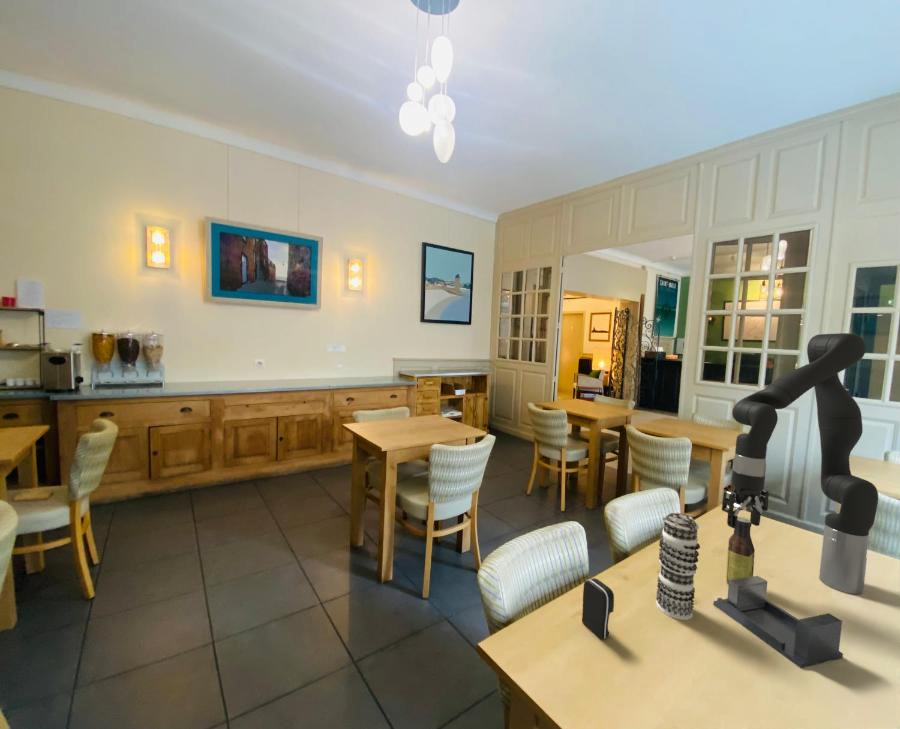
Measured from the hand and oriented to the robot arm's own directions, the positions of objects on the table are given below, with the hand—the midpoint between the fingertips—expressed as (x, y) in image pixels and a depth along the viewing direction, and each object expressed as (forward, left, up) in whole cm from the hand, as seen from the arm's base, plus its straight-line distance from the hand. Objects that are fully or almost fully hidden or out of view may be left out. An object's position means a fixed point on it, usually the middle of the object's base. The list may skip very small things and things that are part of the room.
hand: (743, 525), depth 113 cm
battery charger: (+52, +6, -18) cm, 55 cm away
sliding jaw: (+8, +9, -17) cm, 21 cm away
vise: (+8, +16, -18) cm, 25 cm away
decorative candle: (+27, +4, -18) cm, 33 cm away
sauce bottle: (0, 0, -18) cm, 18 cm away
